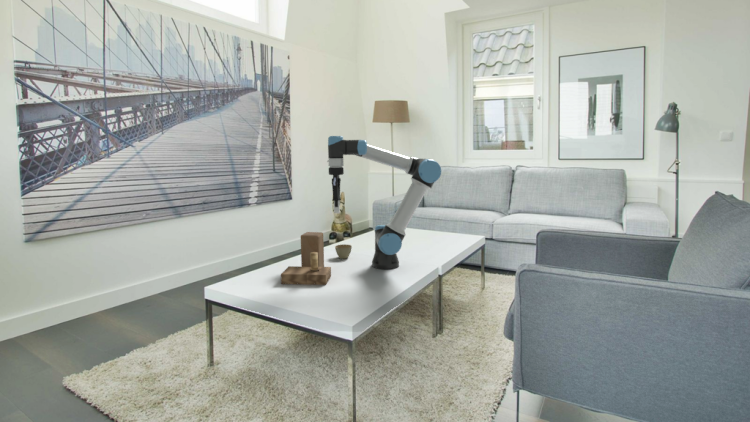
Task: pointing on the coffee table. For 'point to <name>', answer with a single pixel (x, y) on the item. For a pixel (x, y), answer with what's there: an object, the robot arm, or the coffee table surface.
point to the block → (312, 248)
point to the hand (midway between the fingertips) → (336, 213)
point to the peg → (314, 261)
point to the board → (306, 276)
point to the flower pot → (343, 251)
